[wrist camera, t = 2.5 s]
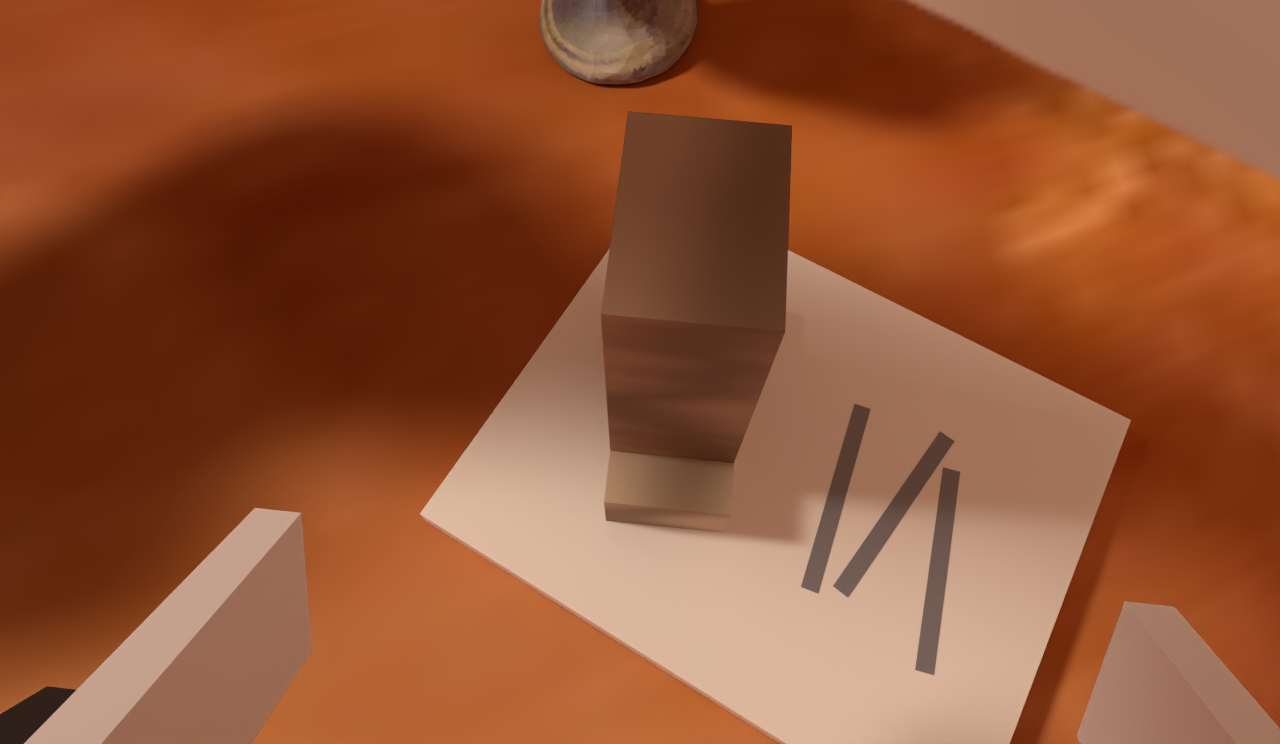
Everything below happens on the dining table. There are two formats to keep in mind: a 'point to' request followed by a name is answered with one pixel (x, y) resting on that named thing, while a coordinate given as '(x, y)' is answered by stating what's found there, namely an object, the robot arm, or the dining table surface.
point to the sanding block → (691, 310)
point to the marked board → (814, 522)
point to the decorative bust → (617, 37)
